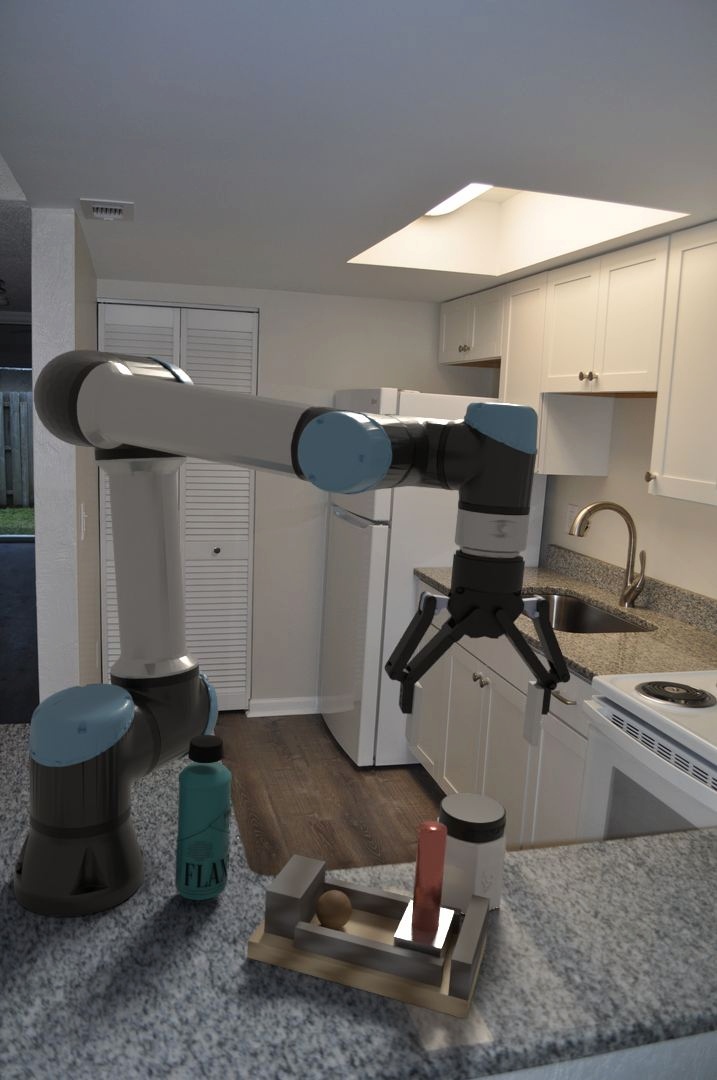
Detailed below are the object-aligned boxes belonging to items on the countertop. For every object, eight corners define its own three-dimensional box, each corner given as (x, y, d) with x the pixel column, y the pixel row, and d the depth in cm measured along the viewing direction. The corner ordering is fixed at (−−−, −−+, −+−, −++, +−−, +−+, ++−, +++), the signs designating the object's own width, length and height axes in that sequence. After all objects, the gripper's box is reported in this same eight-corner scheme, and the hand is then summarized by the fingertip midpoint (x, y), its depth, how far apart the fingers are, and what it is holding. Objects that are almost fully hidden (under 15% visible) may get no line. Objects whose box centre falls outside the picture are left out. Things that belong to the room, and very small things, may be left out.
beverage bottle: (174, 915, 94) (179, 752, 91) (172, 883, 101) (176, 729, 98) (231, 909, 96) (237, 749, 93) (224, 878, 102) (231, 727, 100)
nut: (309, 931, 90) (311, 898, 89) (322, 911, 94) (324, 879, 93) (343, 940, 89) (346, 907, 88) (355, 920, 92) (357, 887, 92)
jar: (459, 925, 96) (467, 830, 94) (417, 889, 103) (424, 800, 101) (514, 904, 101) (523, 813, 99) (470, 871, 108) (478, 786, 106)
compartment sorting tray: (247, 957, 88) (249, 897, 87) (289, 897, 99) (292, 844, 98) (466, 1019, 81) (472, 954, 80) (485, 947, 92) (490, 890, 91)
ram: (392, 962, 85) (401, 838, 83) (408, 924, 92) (417, 808, 90) (438, 974, 84) (449, 848, 82) (452, 935, 91) (462, 817, 88)
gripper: (380, 552, 80) (365, 755, 83) (616, 562, 84) (592, 755, 88) (367, 539, 87) (354, 727, 91) (584, 549, 92) (564, 728, 95)
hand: (471, 741), depth 89 cm, fingers open, 13 cm apart
